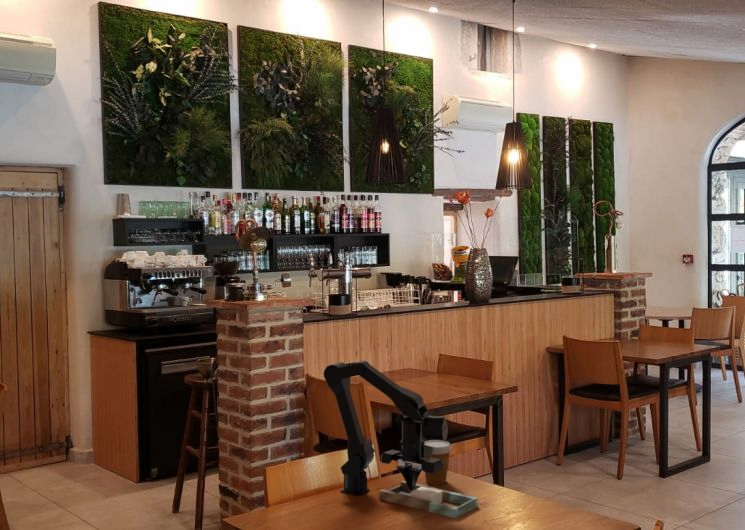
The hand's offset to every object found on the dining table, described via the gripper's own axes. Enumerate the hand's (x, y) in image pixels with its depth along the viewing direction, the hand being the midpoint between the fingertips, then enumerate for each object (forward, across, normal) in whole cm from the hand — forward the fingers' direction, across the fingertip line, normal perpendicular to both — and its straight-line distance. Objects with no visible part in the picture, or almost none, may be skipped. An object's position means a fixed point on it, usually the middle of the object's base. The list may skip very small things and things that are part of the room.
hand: (411, 490), depth 239 cm
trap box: (+3, -6, 0) cm, 6 cm away
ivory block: (+3, -5, 0) cm, 6 cm away
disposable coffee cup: (+3, +3, -18) cm, 19 cm away
